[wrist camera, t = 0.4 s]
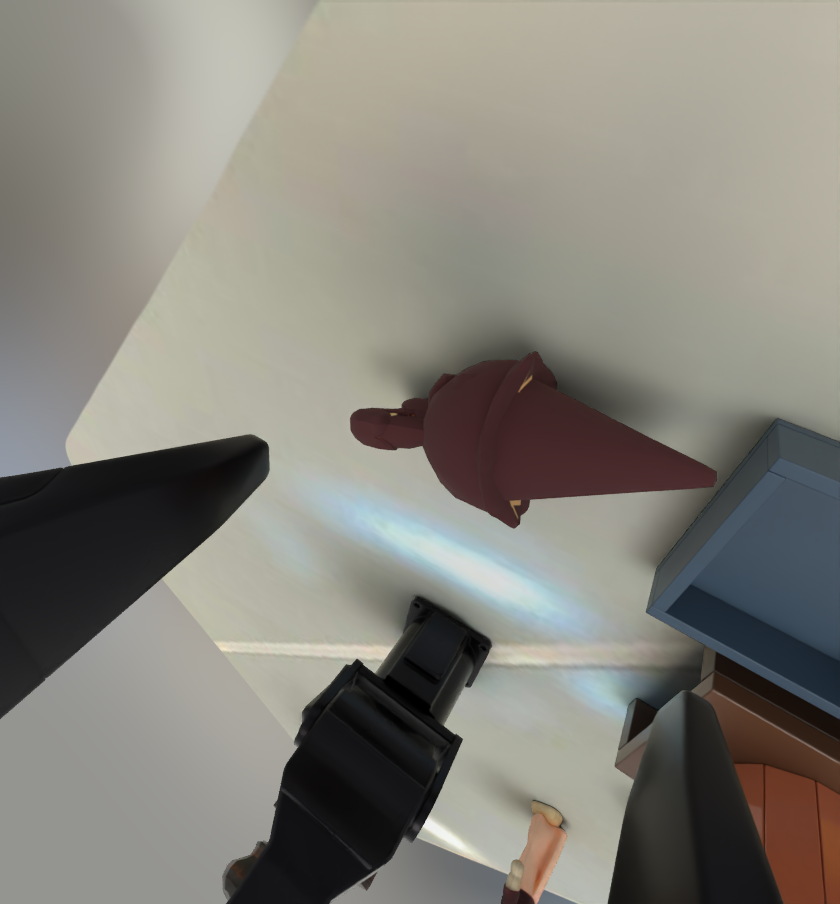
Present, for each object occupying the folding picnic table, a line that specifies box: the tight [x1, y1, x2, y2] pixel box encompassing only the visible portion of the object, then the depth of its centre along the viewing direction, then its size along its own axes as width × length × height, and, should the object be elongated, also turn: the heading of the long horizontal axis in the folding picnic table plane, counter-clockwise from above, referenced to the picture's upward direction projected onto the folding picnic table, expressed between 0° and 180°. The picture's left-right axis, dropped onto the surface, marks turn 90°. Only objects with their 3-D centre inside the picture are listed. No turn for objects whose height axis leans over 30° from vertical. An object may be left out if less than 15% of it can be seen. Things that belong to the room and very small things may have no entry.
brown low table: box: [615, 645, 840, 795], centre depth 23 cm, size 10×12×4 cm
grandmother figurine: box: [501, 801, 567, 904], centre depth 37 cm, size 8×4×13 cm, turn 24°
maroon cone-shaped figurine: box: [350, 352, 717, 528], centre depth 20 cm, size 7×7×15 cm
